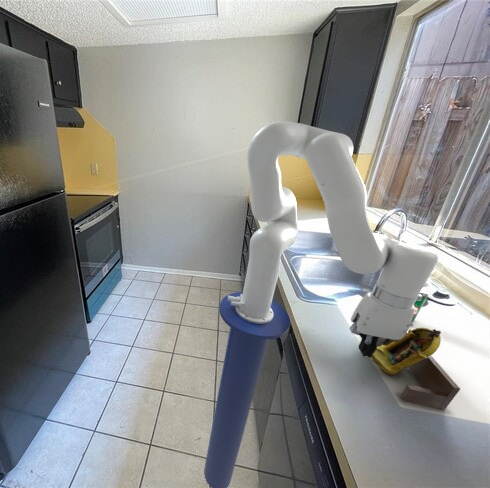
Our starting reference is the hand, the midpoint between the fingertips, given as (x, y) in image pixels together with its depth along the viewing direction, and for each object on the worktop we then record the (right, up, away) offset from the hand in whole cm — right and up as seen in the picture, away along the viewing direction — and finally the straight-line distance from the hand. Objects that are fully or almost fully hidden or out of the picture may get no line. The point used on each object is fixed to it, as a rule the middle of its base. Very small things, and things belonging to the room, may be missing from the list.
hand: (364, 352), depth 68 cm
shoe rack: (+8, -4, -1) cm, 9 cm away
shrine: (+7, -4, -1) cm, 8 cm away
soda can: (+27, +3, +18) cm, 33 cm away
